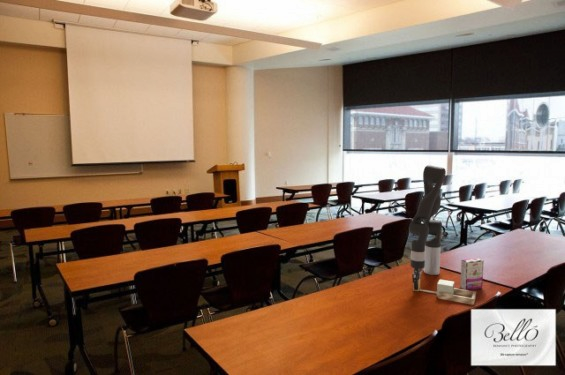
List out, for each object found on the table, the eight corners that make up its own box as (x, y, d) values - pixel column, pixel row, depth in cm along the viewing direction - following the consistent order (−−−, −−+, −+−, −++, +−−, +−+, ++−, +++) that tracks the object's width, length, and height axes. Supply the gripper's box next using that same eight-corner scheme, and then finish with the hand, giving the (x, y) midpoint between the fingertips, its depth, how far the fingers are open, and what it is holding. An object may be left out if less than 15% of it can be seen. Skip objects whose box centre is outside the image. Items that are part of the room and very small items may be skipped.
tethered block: (411, 291, 224) (412, 279, 223) (414, 287, 230) (415, 275, 229) (451, 299, 214) (452, 286, 213) (453, 294, 220) (454, 281, 219)
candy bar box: (476, 285, 233) (477, 257, 231) (482, 288, 228) (484, 260, 226) (459, 287, 230) (461, 259, 228) (465, 290, 225) (467, 262, 223)
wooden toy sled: (437, 298, 215) (438, 292, 215) (441, 290, 225) (441, 285, 224) (473, 304, 207) (473, 299, 206) (475, 297, 216) (476, 291, 216)
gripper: (422, 263, 216) (420, 294, 218) (427, 256, 228) (426, 285, 230) (407, 261, 219) (406, 291, 222) (413, 254, 232) (412, 283, 234)
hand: (416, 288), depth 226 cm, fingers closed on tethered block, 3 cm apart
